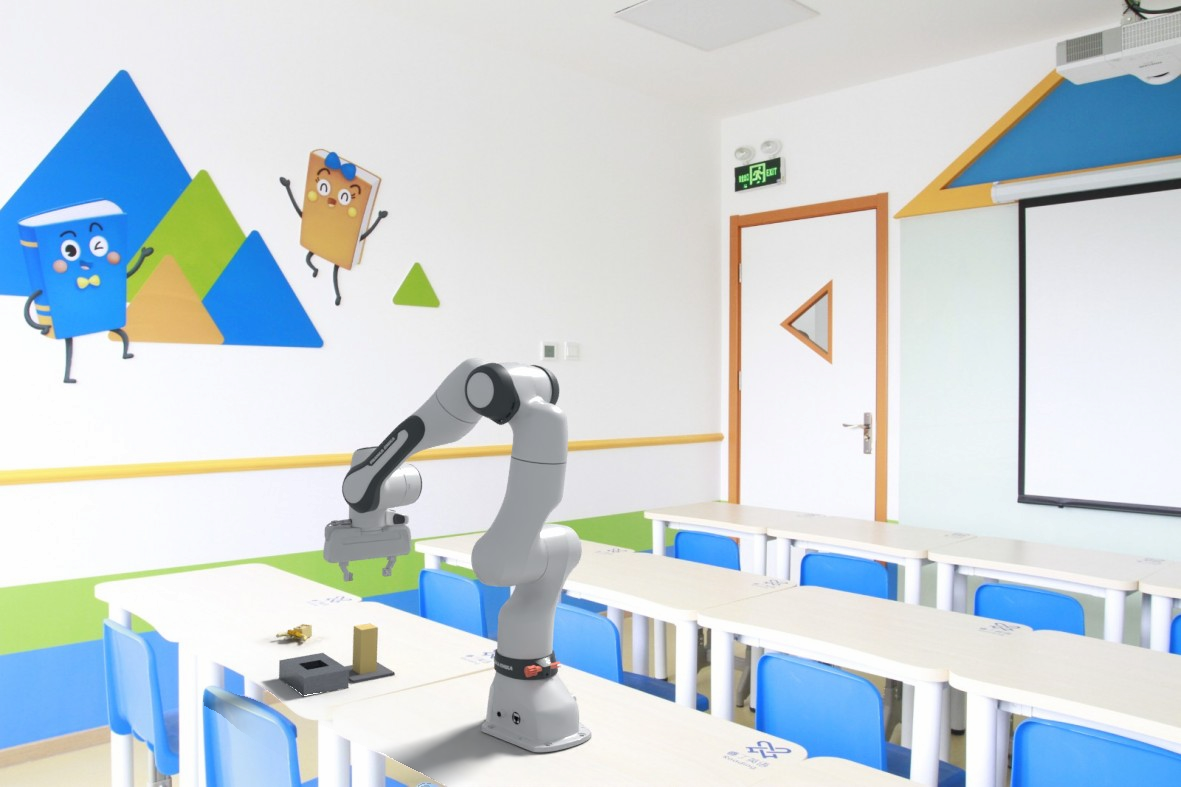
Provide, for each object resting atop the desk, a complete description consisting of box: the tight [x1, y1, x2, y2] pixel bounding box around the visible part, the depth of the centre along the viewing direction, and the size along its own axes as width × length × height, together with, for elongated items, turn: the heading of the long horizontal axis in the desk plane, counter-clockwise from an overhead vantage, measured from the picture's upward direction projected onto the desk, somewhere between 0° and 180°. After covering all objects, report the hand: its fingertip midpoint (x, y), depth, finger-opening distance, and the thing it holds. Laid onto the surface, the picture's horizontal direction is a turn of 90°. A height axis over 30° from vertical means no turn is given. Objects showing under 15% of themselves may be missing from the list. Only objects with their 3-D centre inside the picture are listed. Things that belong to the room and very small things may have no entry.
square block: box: [352, 622, 379, 674], centre depth 205 cm, size 4×4×10 cm
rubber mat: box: [343, 661, 395, 684], centre depth 205 cm, size 10×10×1 cm
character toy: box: [276, 623, 313, 642], centre depth 228 cm, size 8×3×8 cm
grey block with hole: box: [278, 652, 350, 697], centre depth 197 cm, size 14×10×4 cm
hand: (367, 578), depth 205 cm, fingers open, 8 cm apart
